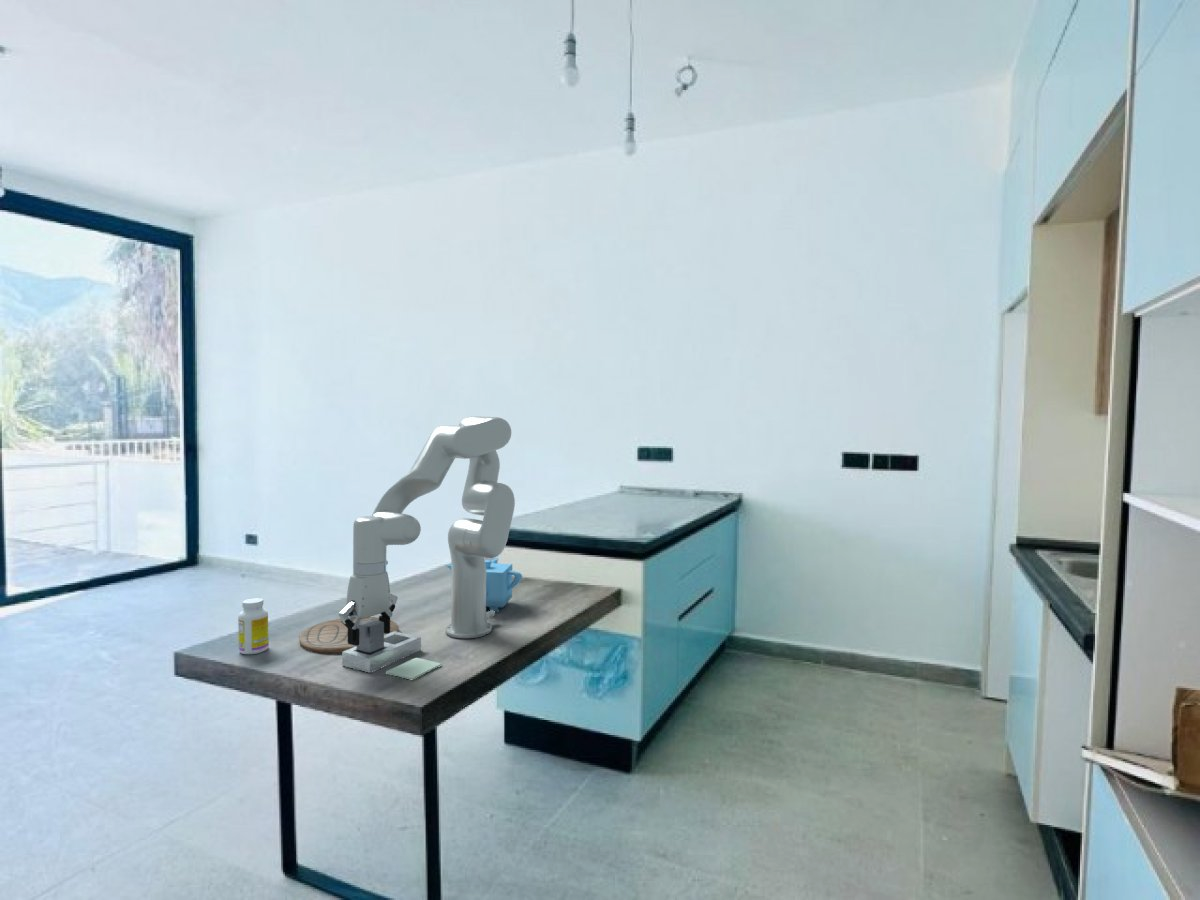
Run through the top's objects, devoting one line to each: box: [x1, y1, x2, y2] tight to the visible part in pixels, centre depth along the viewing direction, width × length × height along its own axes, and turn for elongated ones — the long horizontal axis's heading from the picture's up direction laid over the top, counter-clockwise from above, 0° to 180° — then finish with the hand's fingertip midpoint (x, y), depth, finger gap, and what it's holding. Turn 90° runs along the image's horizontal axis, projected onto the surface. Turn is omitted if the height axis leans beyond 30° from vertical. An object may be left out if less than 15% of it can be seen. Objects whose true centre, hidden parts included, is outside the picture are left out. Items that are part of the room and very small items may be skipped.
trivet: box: [298, 616, 399, 654], centre depth 175 cm, size 25×25×2 cm
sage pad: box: [385, 657, 442, 679], centre depth 153 cm, size 10×8×1 cm
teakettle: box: [444, 557, 523, 612], centre depth 204 cm, size 19×19×15 cm
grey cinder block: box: [341, 631, 422, 674], centre depth 160 cm, size 17×9×4 cm, turn 153°
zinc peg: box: [357, 619, 384, 655], centre depth 157 cm, size 4×4×10 cm
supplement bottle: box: [237, 597, 269, 655], centre depth 164 cm, size 7×7×13 cm
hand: (369, 638), depth 156 cm, fingers open, 9 cm apart
